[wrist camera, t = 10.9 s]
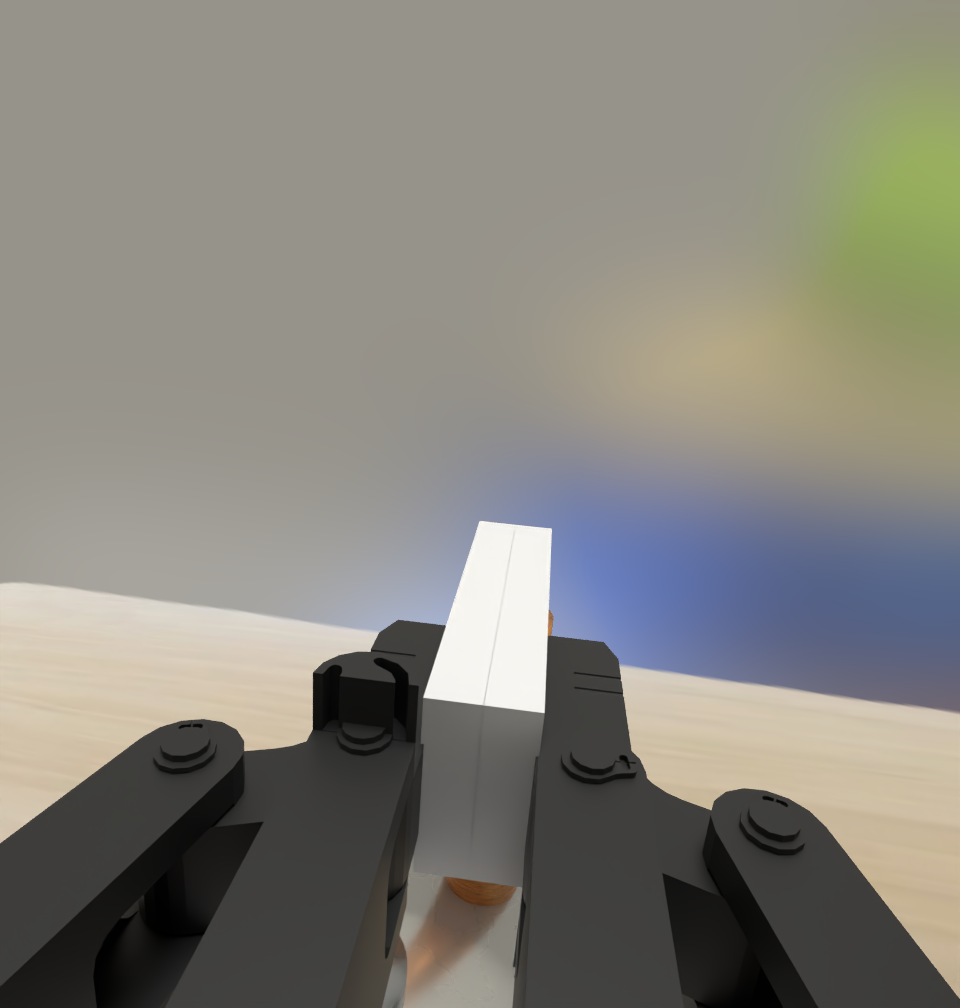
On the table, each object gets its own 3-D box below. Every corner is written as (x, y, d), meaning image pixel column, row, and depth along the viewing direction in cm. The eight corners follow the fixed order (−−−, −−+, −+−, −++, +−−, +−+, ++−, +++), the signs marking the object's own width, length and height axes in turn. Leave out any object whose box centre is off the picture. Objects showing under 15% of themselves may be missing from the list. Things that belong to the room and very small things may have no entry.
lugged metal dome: (155, 1927, 12) (83, 1434, 8) (-100, 1057, 24) (-188, 663, 20) (718, 1054, 27) (811, 704, 22) (383, 783, 39) (398, 520, 35)
